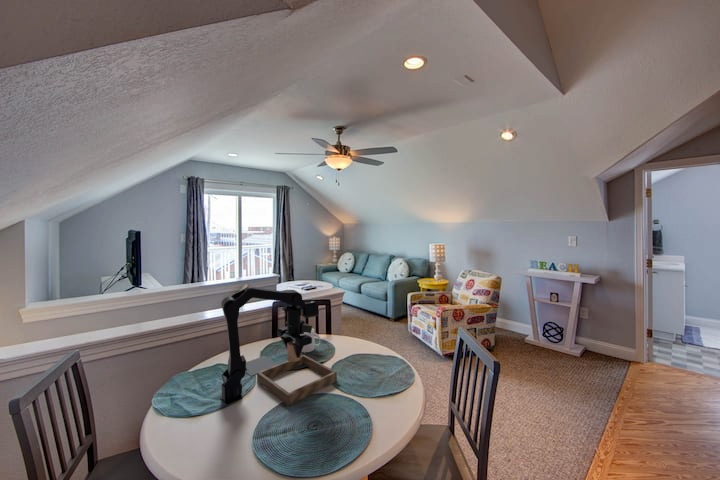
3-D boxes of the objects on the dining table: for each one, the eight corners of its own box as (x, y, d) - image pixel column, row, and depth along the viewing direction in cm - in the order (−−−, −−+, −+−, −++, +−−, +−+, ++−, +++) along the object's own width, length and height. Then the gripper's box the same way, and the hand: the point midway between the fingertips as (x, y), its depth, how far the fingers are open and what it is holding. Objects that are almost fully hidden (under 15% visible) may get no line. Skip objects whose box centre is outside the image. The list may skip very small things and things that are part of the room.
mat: (251, 376, 134) (251, 375, 134) (237, 365, 143) (237, 365, 143) (279, 365, 144) (279, 364, 144) (264, 356, 153) (264, 355, 153)
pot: (292, 363, 126) (292, 346, 125) (284, 358, 130) (284, 342, 129) (303, 358, 130) (303, 342, 130) (296, 354, 134) (296, 338, 134)
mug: (318, 353, 157) (318, 333, 156) (296, 352, 158) (296, 332, 157) (322, 347, 165) (322, 328, 165) (301, 345, 167) (301, 327, 166)
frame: (288, 405, 113) (288, 395, 112) (257, 381, 130) (256, 372, 129) (336, 381, 130) (336, 372, 130) (303, 362, 147) (303, 354, 147)
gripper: (322, 320, 128) (322, 356, 129) (297, 311, 141) (297, 343, 142) (300, 327, 120) (300, 364, 121) (276, 316, 133) (276, 350, 134)
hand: (294, 355), depth 130 cm, fingers closed on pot, 6 cm apart
